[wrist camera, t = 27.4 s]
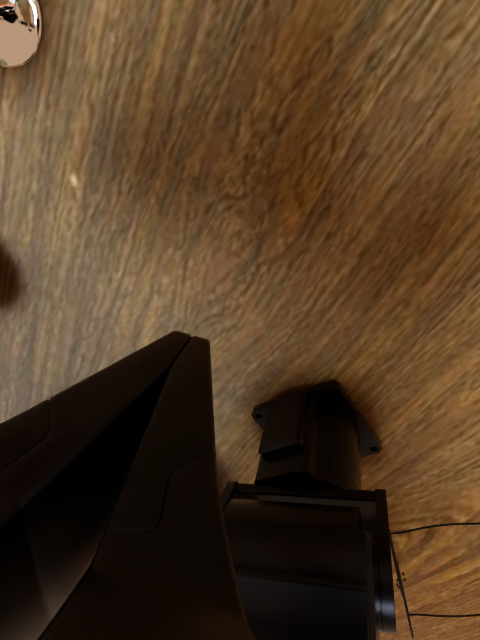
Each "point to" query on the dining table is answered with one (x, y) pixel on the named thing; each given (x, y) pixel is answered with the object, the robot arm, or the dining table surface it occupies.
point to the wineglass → (19, 31)
